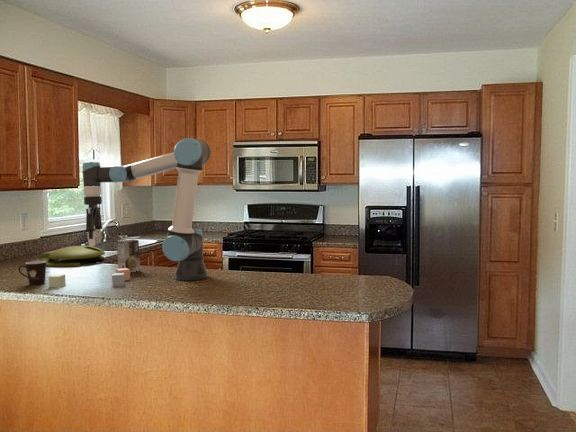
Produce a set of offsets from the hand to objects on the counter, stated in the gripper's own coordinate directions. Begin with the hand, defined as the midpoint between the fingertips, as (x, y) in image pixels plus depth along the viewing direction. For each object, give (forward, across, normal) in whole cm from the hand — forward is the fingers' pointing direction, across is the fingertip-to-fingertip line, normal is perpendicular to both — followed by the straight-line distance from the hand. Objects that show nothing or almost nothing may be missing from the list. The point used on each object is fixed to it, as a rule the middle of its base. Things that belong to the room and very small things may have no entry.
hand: (95, 244), depth 247 cm
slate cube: (+18, +9, +12) cm, 23 cm away
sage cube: (+17, +8, -15) cm, 24 cm away
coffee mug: (+17, 0, -28) cm, 33 cm away
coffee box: (+18, -25, +9) cm, 32 cm away
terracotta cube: (+18, -4, +11) cm, 21 cm away
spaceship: (+18, -64, -31) cm, 73 cm away
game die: (+1, 0, 0) cm, 1 cm away
